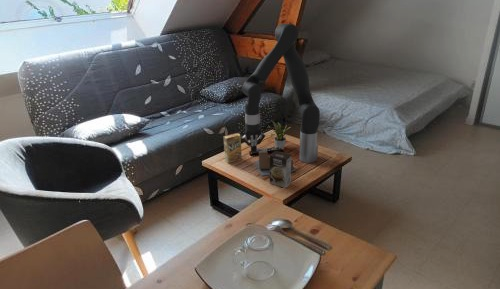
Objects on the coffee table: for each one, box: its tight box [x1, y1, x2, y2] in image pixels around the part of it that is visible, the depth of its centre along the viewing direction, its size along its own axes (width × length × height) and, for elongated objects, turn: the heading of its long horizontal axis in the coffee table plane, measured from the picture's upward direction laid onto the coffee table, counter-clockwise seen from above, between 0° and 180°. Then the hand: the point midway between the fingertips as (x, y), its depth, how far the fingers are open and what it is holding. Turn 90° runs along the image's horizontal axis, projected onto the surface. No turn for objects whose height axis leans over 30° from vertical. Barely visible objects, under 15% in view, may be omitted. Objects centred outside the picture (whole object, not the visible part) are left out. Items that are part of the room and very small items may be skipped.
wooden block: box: [258, 150, 294, 169], centre depth 191 cm, size 9×4×18 cm
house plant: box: [269, 121, 291, 150], centre depth 212 cm, size 14×14×16 cm
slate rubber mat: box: [253, 160, 296, 177], centre depth 195 cm, size 19×16×1 cm
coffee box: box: [269, 150, 293, 189], centre depth 176 cm, size 9×6×16 cm
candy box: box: [223, 132, 243, 164], centre depth 200 cm, size 9×4×15 cm, turn 118°
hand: (253, 151), depth 188 cm, fingers closed
